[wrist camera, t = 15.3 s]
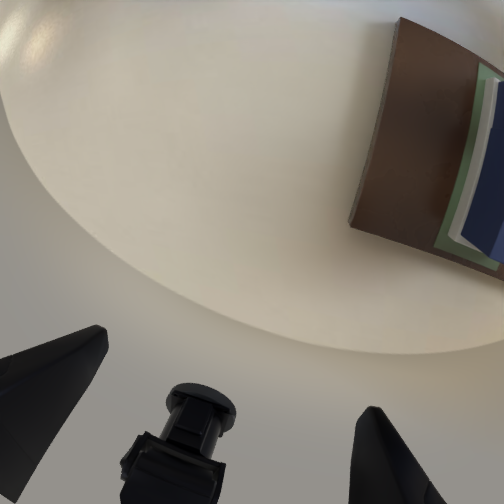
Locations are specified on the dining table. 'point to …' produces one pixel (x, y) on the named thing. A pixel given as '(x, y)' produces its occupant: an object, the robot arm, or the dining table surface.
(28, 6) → the dining table surface
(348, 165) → the dining table surface
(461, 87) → the brown flat slab
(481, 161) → the blue stepped block
